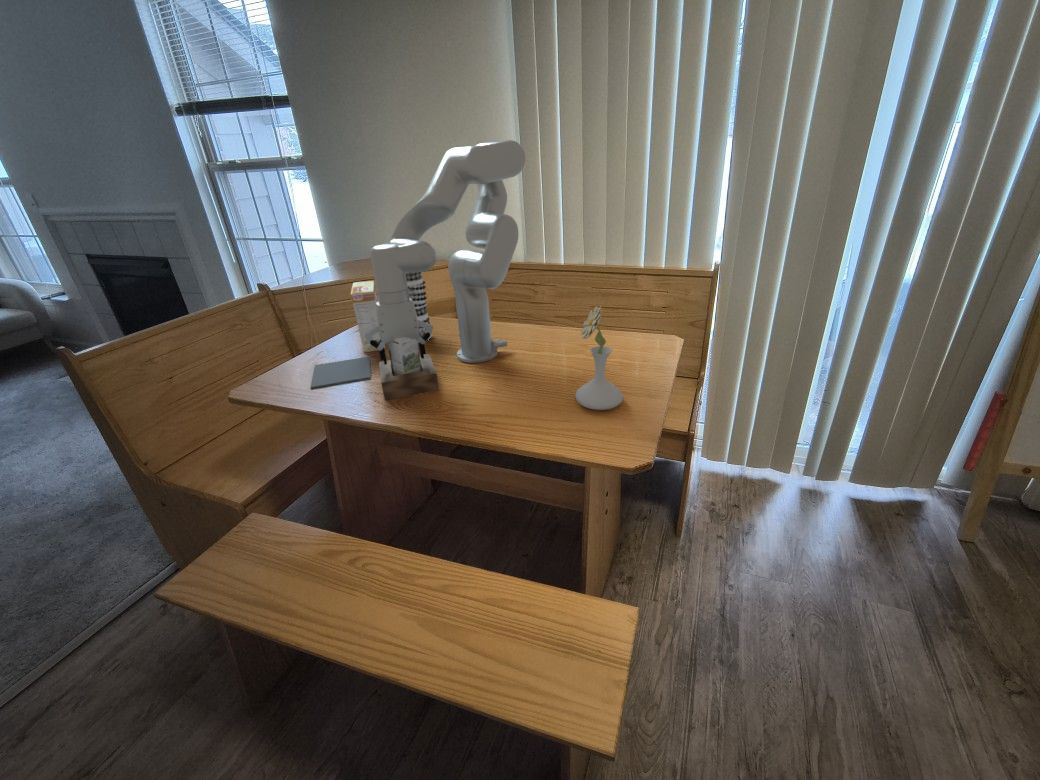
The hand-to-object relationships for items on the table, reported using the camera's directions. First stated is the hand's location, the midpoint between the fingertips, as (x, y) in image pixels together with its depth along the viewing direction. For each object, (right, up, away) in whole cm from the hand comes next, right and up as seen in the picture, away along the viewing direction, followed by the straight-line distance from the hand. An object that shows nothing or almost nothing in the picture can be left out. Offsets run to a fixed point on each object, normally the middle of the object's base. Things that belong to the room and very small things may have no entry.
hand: (404, 359), depth 120 cm
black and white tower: (-4, +10, +35) cm, 37 cm away
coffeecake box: (-19, +8, +33) cm, 39 cm away
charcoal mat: (-21, -3, +13) cm, 25 cm away
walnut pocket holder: (+1, -6, +4) cm, 7 cm away
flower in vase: (+50, -12, -11) cm, 52 cm away
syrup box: (+1, -7, +4) cm, 8 cm away
